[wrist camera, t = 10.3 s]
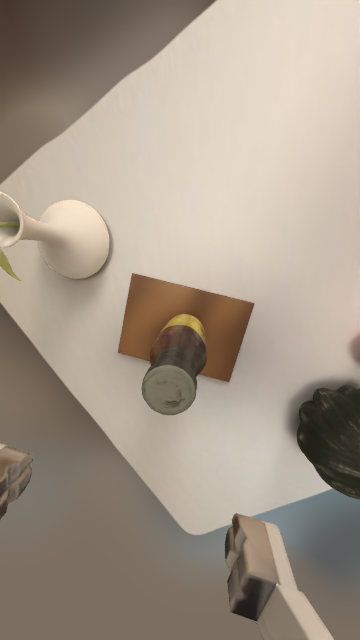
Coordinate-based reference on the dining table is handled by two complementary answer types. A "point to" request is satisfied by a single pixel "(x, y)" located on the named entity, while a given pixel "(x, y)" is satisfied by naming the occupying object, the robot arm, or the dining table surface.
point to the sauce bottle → (175, 365)
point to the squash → (333, 437)
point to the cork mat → (171, 300)
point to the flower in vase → (57, 236)
